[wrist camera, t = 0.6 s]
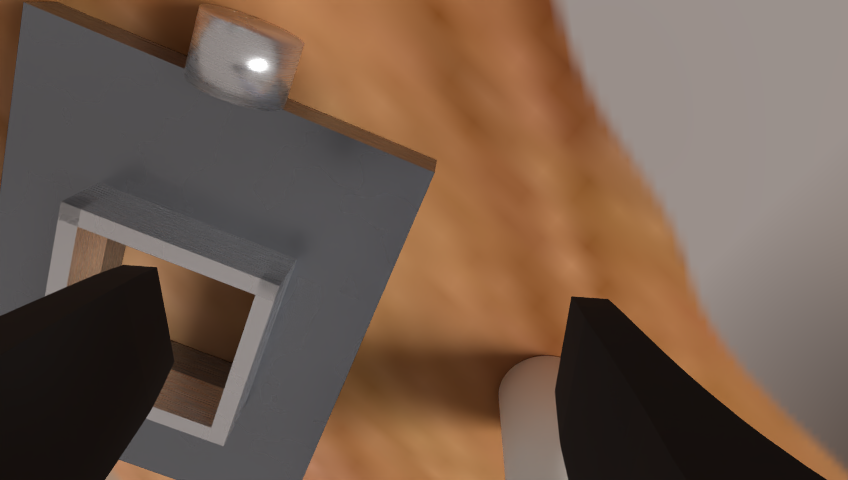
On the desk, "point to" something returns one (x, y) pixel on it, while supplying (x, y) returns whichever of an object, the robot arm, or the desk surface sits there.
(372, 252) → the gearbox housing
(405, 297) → the desk surface
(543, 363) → the spout can
